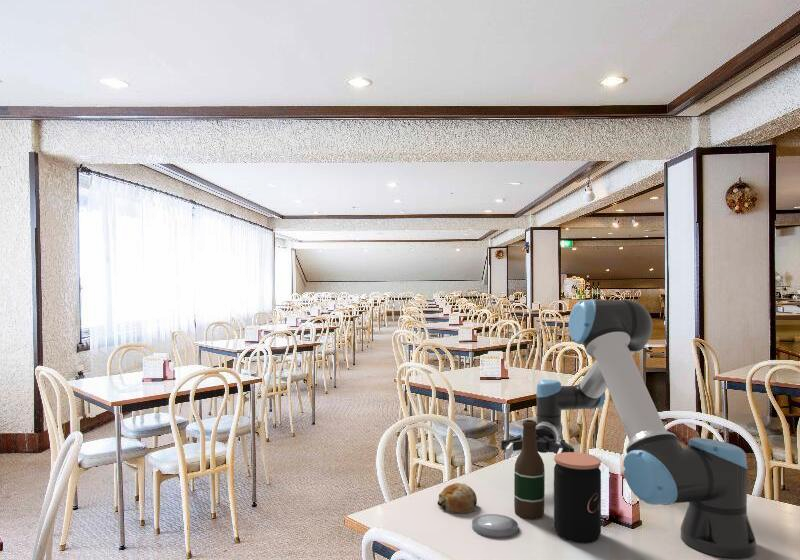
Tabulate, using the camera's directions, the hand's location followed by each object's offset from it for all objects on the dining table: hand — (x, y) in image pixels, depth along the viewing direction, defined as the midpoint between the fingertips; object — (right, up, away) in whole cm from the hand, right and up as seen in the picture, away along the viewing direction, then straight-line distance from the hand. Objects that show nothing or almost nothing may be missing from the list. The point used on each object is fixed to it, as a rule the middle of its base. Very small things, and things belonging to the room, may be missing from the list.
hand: (532, 456), depth 155 cm
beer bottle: (-2, -13, -6) cm, 15 cm away
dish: (-12, -13, -15) cm, 23 cm away
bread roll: (-20, -13, -2) cm, 24 cm away
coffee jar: (+7, -13, -18) cm, 23 cm away
